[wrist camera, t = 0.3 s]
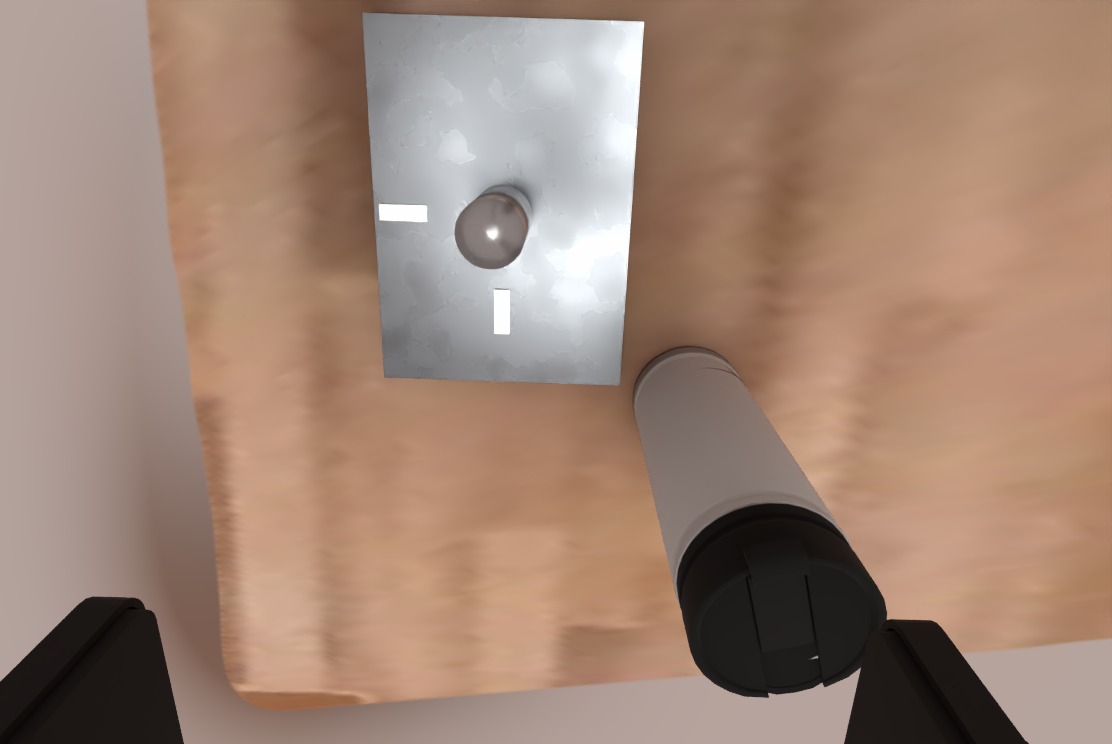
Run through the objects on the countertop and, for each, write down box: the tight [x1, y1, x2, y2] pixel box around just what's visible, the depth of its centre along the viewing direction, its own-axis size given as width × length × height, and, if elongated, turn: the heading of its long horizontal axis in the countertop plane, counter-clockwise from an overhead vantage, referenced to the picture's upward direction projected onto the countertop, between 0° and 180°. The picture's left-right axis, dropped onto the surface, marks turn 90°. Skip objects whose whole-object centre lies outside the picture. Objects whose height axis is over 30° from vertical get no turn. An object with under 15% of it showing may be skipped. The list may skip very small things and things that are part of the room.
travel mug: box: [633, 347, 887, 698], centre depth 30 cm, size 6×7×20 cm
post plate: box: [362, 13, 644, 385], centre depth 33 cm, size 18×13×8 cm
